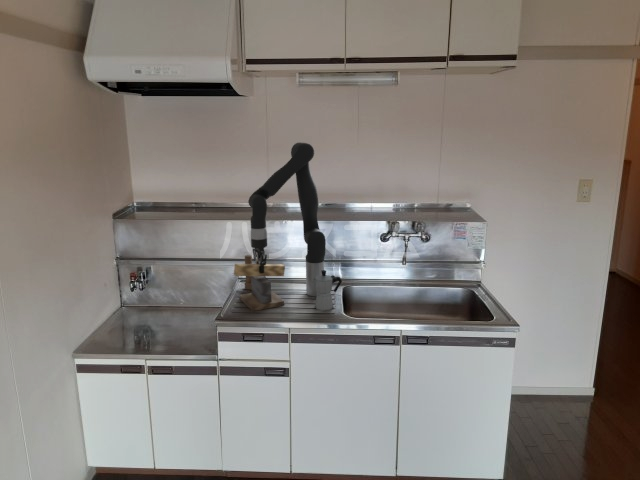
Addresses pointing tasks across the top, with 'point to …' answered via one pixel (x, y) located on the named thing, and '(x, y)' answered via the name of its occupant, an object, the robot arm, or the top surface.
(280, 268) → the oak bar
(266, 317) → the top surface
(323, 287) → the coffee maker
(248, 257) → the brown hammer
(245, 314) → the top surface
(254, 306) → the ridge stand
